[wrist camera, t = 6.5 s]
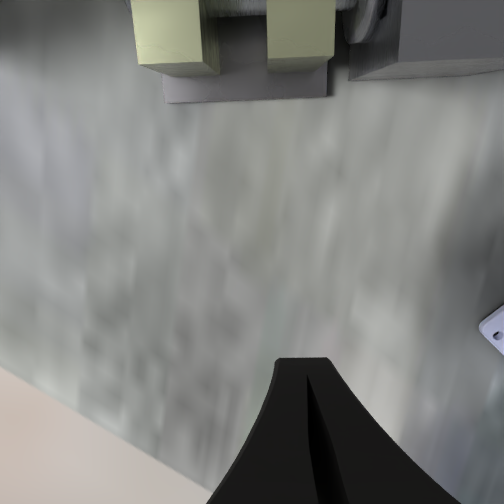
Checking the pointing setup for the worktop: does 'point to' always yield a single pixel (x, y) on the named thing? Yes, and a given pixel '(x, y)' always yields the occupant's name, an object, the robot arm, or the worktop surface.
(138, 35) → the shaft rig
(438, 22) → the grey housing block
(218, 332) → the worktop surface
